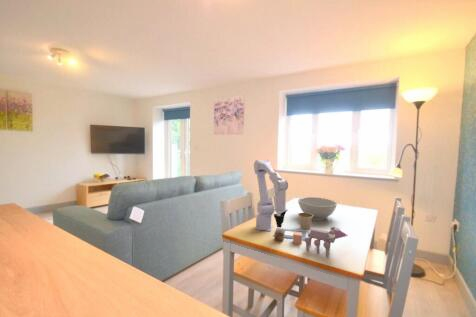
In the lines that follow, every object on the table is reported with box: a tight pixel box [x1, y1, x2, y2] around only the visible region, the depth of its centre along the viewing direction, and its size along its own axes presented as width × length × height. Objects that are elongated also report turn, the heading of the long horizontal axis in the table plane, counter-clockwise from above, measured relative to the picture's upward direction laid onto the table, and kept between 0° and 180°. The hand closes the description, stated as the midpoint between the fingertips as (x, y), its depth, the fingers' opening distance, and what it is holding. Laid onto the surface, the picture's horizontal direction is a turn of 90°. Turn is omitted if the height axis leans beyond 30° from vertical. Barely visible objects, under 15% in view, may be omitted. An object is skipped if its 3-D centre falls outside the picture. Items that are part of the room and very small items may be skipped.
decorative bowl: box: [297, 196, 338, 221], centre depth 172 cm, size 27×27×12 cm
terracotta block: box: [292, 232, 303, 245], centre depth 130 cm, size 4×4×5 cm
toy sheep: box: [304, 226, 348, 258], centre depth 118 cm, size 20×11×14 cm, turn 58°
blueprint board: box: [273, 227, 307, 242], centre depth 141 cm, size 18×13×1 cm
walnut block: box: [274, 228, 285, 243], centre depth 133 cm, size 4×4×5 cm
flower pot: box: [297, 212, 313, 230], centre depth 151 cm, size 9×9×9 cm
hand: (280, 224), depth 132 cm, fingers open, 7 cm apart
